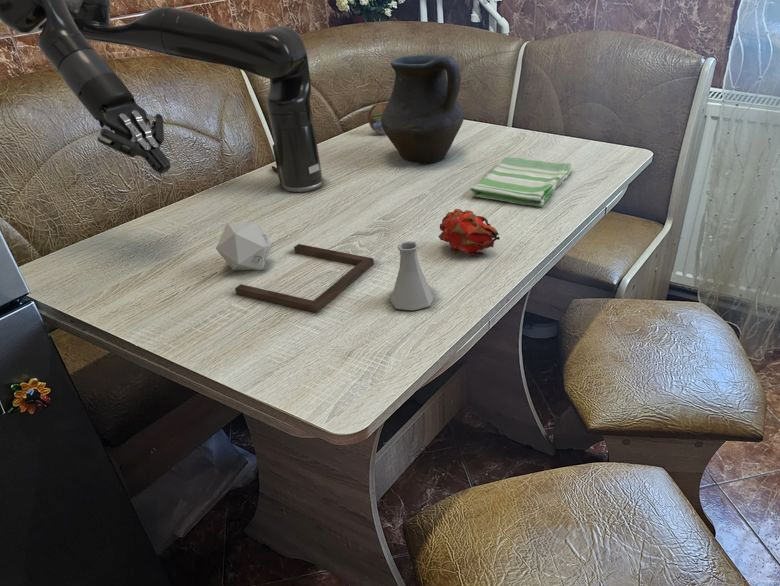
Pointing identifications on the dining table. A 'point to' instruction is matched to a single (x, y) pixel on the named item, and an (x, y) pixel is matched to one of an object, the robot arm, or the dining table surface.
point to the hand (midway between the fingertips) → (165, 170)
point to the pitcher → (423, 107)
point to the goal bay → (324, 298)
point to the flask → (410, 281)
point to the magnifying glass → (377, 117)
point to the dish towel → (522, 181)
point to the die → (244, 246)
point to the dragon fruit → (467, 232)
